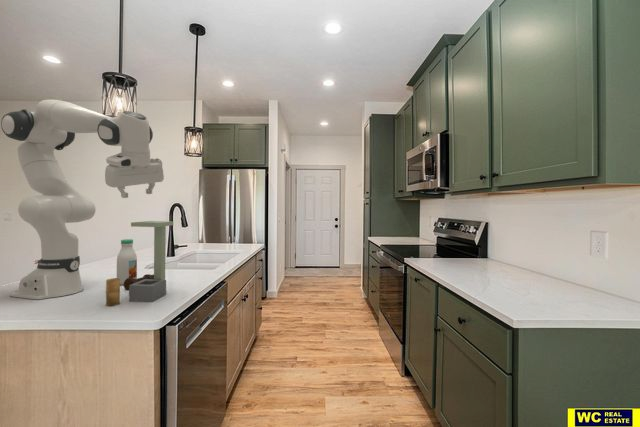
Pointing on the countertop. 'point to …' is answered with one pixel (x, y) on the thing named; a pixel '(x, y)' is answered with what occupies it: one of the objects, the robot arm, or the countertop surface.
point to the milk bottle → (126, 261)
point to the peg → (112, 292)
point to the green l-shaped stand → (157, 245)
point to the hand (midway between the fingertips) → (137, 195)
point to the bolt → (136, 280)
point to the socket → (147, 290)
